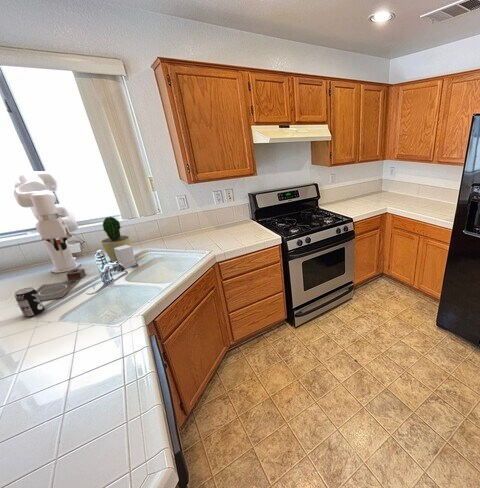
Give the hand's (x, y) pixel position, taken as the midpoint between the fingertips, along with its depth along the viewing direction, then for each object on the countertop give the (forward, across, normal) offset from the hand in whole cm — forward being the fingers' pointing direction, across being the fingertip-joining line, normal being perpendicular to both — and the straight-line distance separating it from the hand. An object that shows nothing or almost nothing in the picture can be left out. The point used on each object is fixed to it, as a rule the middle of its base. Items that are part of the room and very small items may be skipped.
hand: (61, 249), depth 143 cm
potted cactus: (+19, -17, -24) cm, 35 cm away
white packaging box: (+19, -24, -11) cm, 32 cm away
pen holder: (+19, -1, -3) cm, 19 cm away
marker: (+7, 0, 0) cm, 7 cm away
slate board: (+19, +4, +12) cm, 23 cm away
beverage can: (+19, +1, +34) cm, 39 cm away
